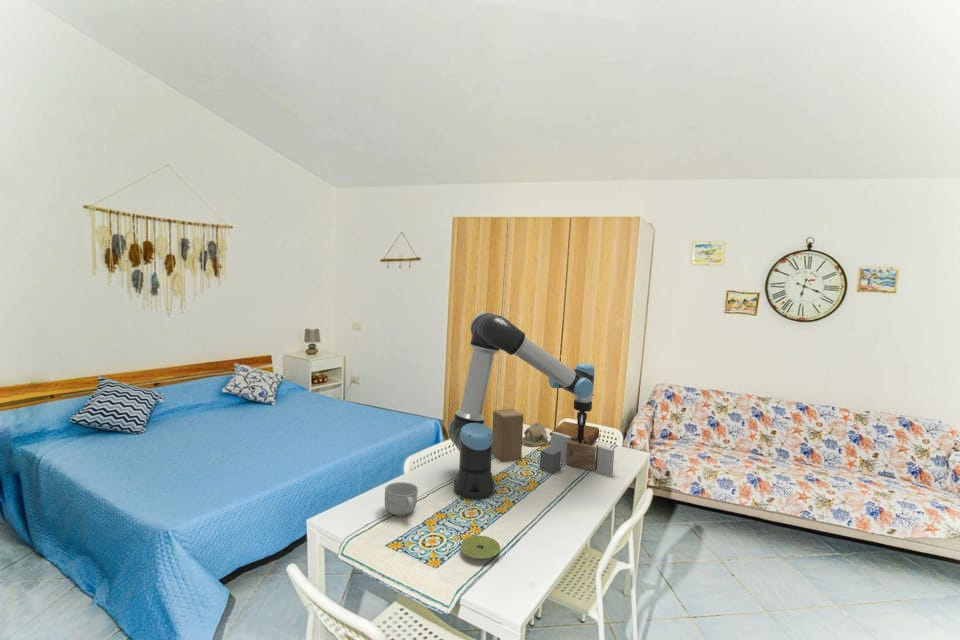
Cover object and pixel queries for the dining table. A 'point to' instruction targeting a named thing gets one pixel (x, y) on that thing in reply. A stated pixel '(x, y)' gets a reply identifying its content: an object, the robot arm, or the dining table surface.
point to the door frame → (603, 459)
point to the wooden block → (507, 434)
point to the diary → (572, 430)
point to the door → (582, 455)
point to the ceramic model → (535, 436)
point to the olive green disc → (480, 547)
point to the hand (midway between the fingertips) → (579, 453)
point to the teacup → (400, 498)
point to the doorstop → (550, 460)
